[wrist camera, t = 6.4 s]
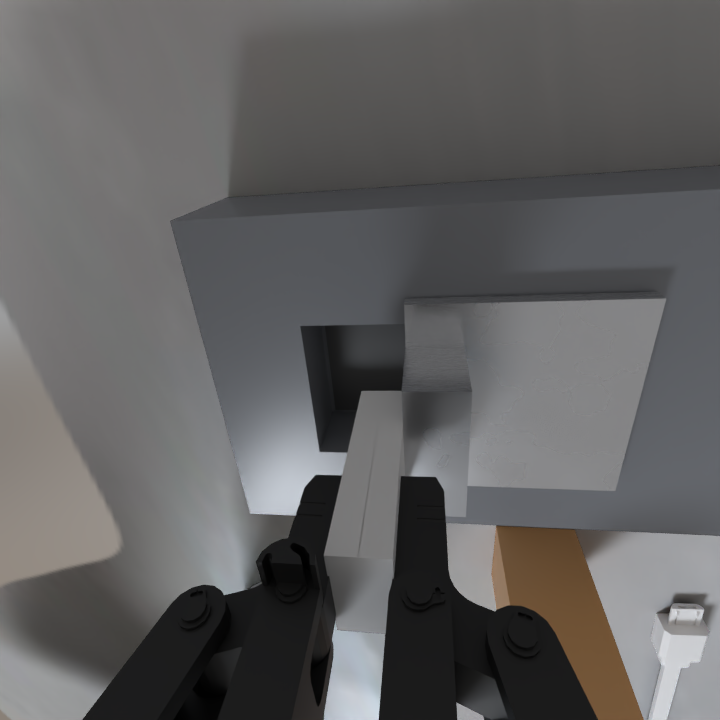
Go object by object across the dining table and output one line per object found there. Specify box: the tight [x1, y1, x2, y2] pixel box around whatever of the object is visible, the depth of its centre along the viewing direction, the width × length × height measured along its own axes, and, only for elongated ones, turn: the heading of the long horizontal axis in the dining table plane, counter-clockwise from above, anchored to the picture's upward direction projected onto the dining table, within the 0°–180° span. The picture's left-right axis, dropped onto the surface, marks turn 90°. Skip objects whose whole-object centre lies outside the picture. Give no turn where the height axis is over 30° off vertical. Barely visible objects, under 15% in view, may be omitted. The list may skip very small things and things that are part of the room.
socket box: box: [170, 166, 720, 536], centre depth 19 cm, size 22×14×5 cm, turn 94°
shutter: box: [402, 292, 666, 517], centre depth 15 cm, size 8×8×4 cm
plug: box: [492, 526, 644, 720], centre depth 22 cm, size 4×4×14 cm
